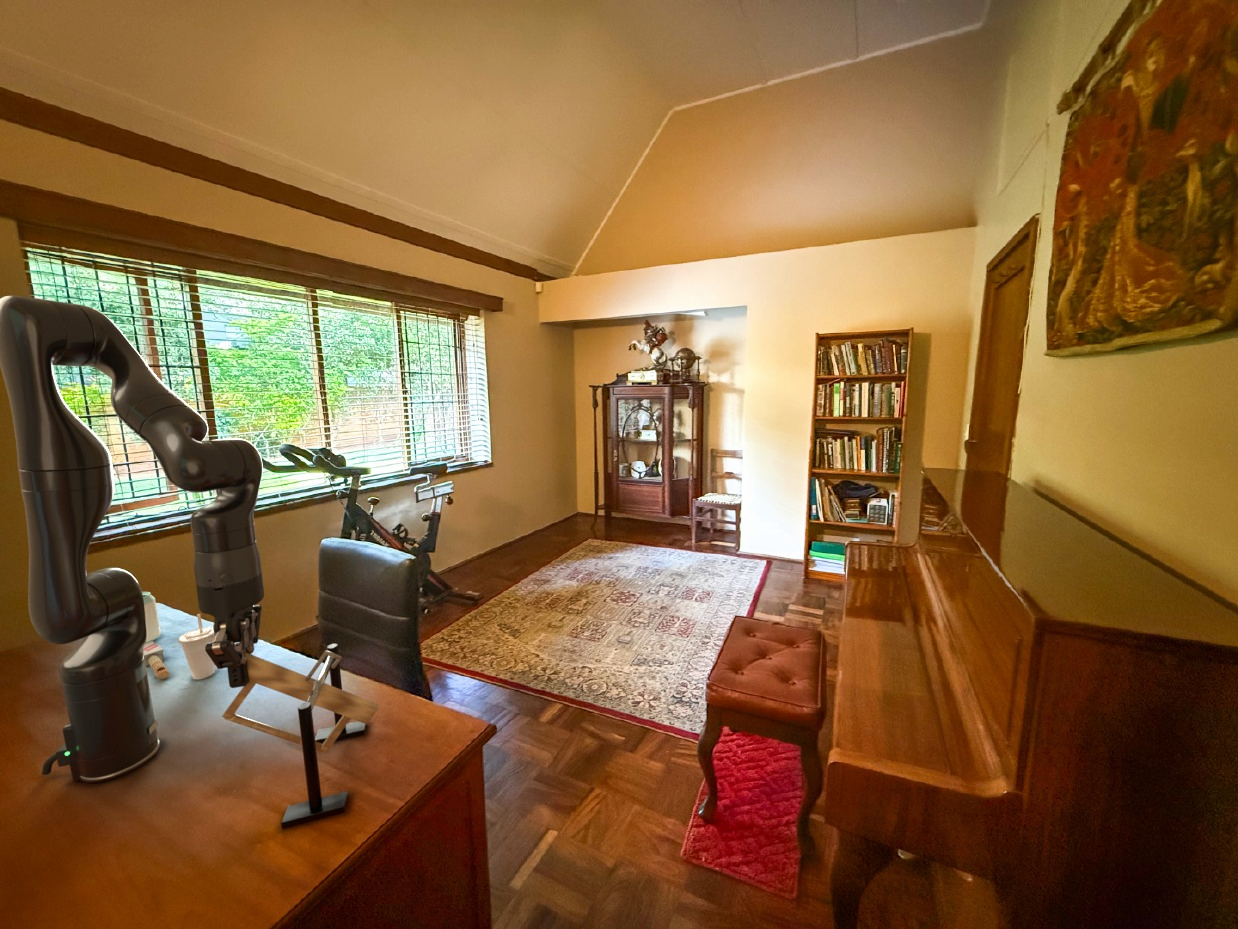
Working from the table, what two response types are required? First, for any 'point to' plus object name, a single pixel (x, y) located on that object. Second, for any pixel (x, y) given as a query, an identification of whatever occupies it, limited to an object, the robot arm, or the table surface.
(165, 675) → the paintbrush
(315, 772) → the rail stand
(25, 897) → the table surface
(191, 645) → the smoothie
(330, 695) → the hanger
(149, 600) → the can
